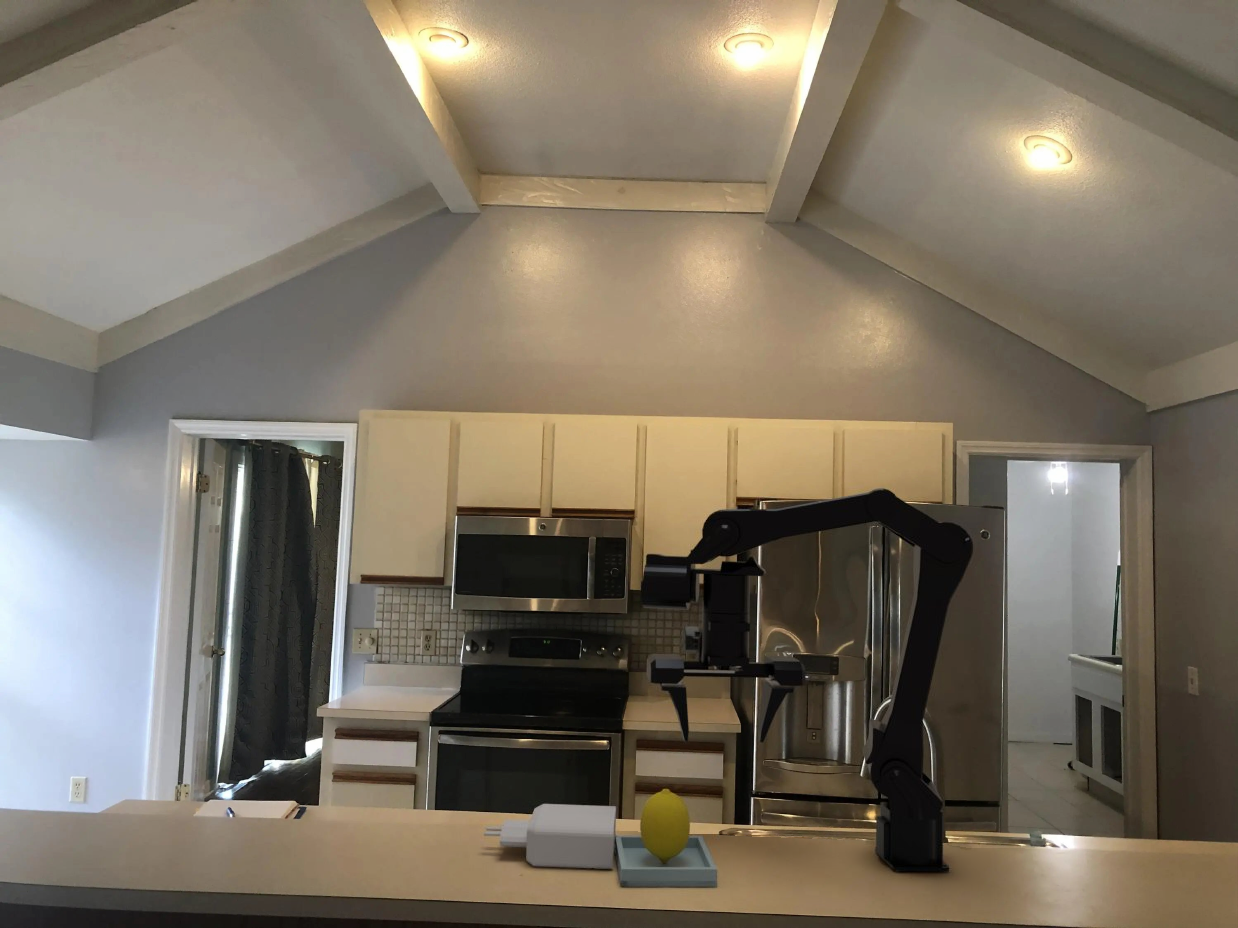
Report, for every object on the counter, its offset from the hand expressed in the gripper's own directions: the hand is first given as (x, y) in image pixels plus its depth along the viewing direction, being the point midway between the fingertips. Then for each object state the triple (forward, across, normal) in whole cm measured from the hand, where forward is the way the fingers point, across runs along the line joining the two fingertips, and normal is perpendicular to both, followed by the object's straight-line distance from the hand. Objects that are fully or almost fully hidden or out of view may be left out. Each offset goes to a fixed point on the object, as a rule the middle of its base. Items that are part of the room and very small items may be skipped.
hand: (723, 741), depth 109 cm
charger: (+12, +21, +4) cm, 24 cm away
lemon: (+12, +8, +8) cm, 16 cm away
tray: (+12, +8, +8) cm, 16 cm away
